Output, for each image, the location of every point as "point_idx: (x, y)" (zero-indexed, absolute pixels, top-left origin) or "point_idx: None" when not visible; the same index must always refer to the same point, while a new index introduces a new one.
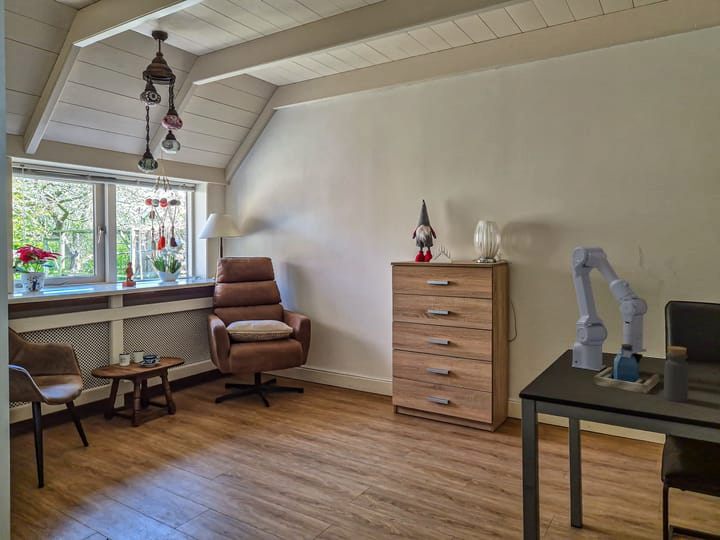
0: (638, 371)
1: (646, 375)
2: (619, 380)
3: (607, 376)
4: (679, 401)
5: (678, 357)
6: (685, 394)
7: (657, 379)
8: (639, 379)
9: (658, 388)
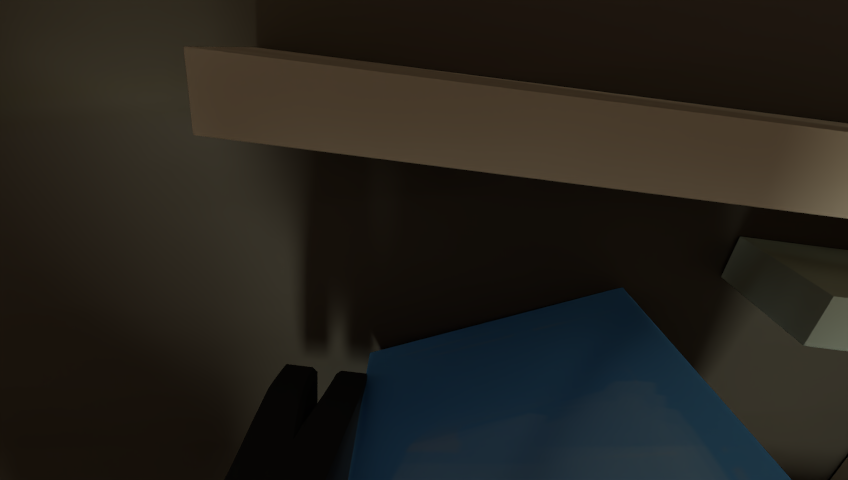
0: (767, 458)
1: (2, 237)
2: None
3: None
4: None
5: None
6: None
7: (348, 62)
8: (830, 338)
9: (729, 12)
